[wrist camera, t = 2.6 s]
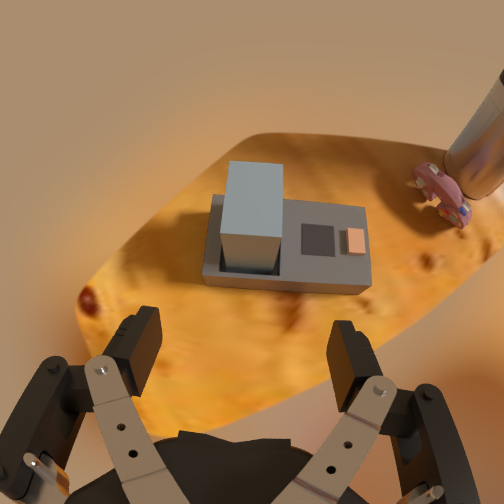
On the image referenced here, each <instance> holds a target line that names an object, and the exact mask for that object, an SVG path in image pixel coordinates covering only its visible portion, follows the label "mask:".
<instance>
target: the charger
mask: <svg viewBox="0 0 504 504" xmlns="http://www.w3.org/2000/svg"><path fill="white" fill-rule="evenodd" d="M282 215H283V164H273V163H260V162H245V161H230V162H229V169H228V176H227V183H226V190H225V198H224V205H223V213H222V221H221V229H220V236H221V241H222V247H223V252H224V257H225V262H226V267H227V272H229V273H242V274H256V275H272V271H273V268H274V264H275V260H276V257H277V253H278V250H279V246H280V242H281V239H282Z"/></svg>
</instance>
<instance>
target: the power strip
mask: <svg viewBox="0 0 504 504" xmlns="http://www.w3.org/2000/svg"><path fill="white" fill-rule="evenodd" d="M224 198H225V195H215V194H213V197H212V204H211V210H210V217H209V224H208V231H207V238H206V245H205V253H204V260H203V268H202V277H203V279H204V281H205V283H206V285H207V286H218V287H231V288H244V289H258V290H274V291H290V292H308V293H329V294H353V295H359V294H360V293H362V292H363V291H365V290H366V289H368V288H369V287H371V286H372V277H371V262H370V250H369V239H368V229H367V220H366V211H365V207H358V206H349V205H340V204H331V203H321V202H311V201H300V200H289V199H283V215H282V239H281V242H280V246H279V250H278V253H277V257H276V260H275V264H274V268H273V271H272V275H256V274H242V273H229V272H227V267H226V262H225V257H224V252H223V247H222V241H221V236H220V229H221V221H222V213H223V205H224Z"/></svg>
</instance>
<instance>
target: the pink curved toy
mask: <svg viewBox="0 0 504 504" xmlns="http://www.w3.org/2000/svg"><path fill="white" fill-rule="evenodd" d="M413 176H414V178H415V180H416V184H417V186H418V187H420V191H421V193H422V194H423V196H424V197H425V198H426V199H427V200H429V201H432V200H433V199H434V198H435V197H436V196H438V197H439V199H440V200H441V202H440V203H439V204H438V205H437V207H436V209H437V211H438V213H439V215H440V216H441V217H442V218H444V219H445V220H448V221H450V222H451V223H452V224H454V225H455V226H456V227H457V228H459V229H463V228H464V227H465V226H466V225H468V223H469V221H470V219H471V216H472V209H471V206H470V204H469V203H468V202H467V201H466V199H465V198H464V196H463V194H462V192H461V190H460V188H459V186H458V185H457V183H456V182H455V181H454V180H453V179H452V178H451V177H449V176H447V175H446V174H444V173H443V172H442V171H440V170H439V169H438V168H437V166H436V165H435V164H432V163H430V162H423V163H421V164H419V165H418V166H417V167H416V168H415V169H414V170H413Z"/></svg>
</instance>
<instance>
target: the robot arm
mask: <svg viewBox="0 0 504 504" xmlns="http://www.w3.org/2000/svg"><path fill="white" fill-rule="evenodd" d="M444 166H445V169H446V171H447V174H448V175H449V177H451V178H452V179H453V180H454V181H455V182H456V183H457V185H458V186H459V188H460V190H461V192H462V193H464V194H465V195H467V196H468V197H470V198H472V199H476V200H480V199H482V198H484V197H485V196H486V195H491V194H492V193H493V192H494V191H495V190H496V189H497V188H498V187H499V186H500V185H501V184H502V183H504V70H503V71H502V73H501V74H500V76H499V78H498V79H497V81H496V82H495V84H494V86H493V87H492V89H491V90H490V92H489V93H488V95H487V96H486V98H485V100H484V101H483V102H482V104H481V105H480V107H479V108H478V110H477V111H476V113H475V114H474V116H473V117H472V118H471V120H470V121H469V123H468V124H467V125H466V127H465V128H464V129H463V131H462V132H461V134H460V135H459V136H458V138H457V139H456V140H455V142H454V143H453V144H452V146H451V147H450V148H449V150H448V151H447V152H446V154H445V155H444ZM161 344H162V328H161V321H160V314H159V309H158V308H157V307H150V306H141V307H140V309H139V311H138V312H137V314H136V315H130V316H128V317H127V318H126V319H124V320H123V321H122V323H121V324H120V326H119V328H118V329H117V331H116V332H115V335H114V336H113V337H112V339H111V341H110V342H109V344H108V346H107V347H106V349H105V351H104V352H103V354H102V355H100V356H96V357H93V358H91V359H90V360H89V361H88V362H87V363H86V365H81V366H68V363H67V361H66V360H65V359H64V358H63V357H60V356H52V357H49V358H47V359H45V360H44V361H43V362H42V363H41V365H40V366H39V368H38V369H37V371H36V372H35V374H34V376H33V377H32V379H31V381H30V382H29V384H28V386H27V387H26V389H25V391H24V392H23V394H22V396H21V398H20V399H19V401H18V403H17V405H16V406H15V408H14V410H13V412H12V413H11V415H10V417H9V419H8V421H7V423H6V425H5V427H4V428H3V430H2V433H1V434H0V492H2V493H3V494H4V495H5V496H6V497H7V498H9V499H10V500H12V501H13V502H15V503H16V504H369V503H367V502H366V501H365V500H364V499H363V498H362V497H360V496H359V495H358V494H357V493H356V492H355V491H353V490H352V489H351V488H350V487H349V486H348V485H349V483H350V482H351V480H352V479H353V477H354V476H355V474H356V472H357V471H358V469H359V468H360V466H361V464H362V463H363V461H364V459H365V457H366V456H367V454H368V452H369V450H370V449H371V447H372V445H373V443H374V441H375V440H376V438H377V436H378V434H382V435H389V436H390V438H391V442H392V446H393V451H394V455H395V461H396V466H397V471H398V476H399V481H400V486H401V492H402V498H401V499H400V500H399V501H398V502H397V503H396V504H480V500H479V496H478V492H477V488H476V485H475V482H474V479H473V475H472V472H471V468H470V465H469V462H468V459H467V456H466V453H465V450H464V448H463V445H462V442H461V439H460V437H459V434H458V431H457V429H456V426H455V424H454V421H453V418H452V416H451V413H450V411H449V409H448V406H447V404H446V402H445V399H444V397H443V395H442V393H441V391H440V390H439V389H438V388H437V387H436V386H433V385H431V384H421V385H419V386H418V387H417V388H416V389H415V391H408V390H401V389H398V388H396V386H395V384H394V383H393V381H392V380H390V379H389V378H386V377H384V376H383V374H382V371H381V369H380V366H379V364H378V361H377V359H376V356H375V354H374V352H373V349H372V348H371V344H370V342H369V340H368V338H367V337H366V336H365V335H364V334H363V333H362V332H361V331H355V329H354V326H353V324H352V321H346V320H335V321H334V323H333V326H332V330H331V334H330V338H329V341H328V345H327V352H326V355H327V361H328V365H329V370H330V374H331V379H332V383H333V388H334V391H335V397H336V401H337V406H338V410H339V412H345V413H344V415H343V416H342V418H341V419H340V421H339V422H338V423H337V425H336V426H335V428H334V429H333V430H332V432H331V433H330V435H329V436H328V438H327V439H326V440H325V441H324V443H323V444H322V445H321V447H320V448H319V449H318V451H317V452H316V453H315V455H312V454H311V453H309V452H307V451H305V450H302V449H300V448H297V447H293V446H291V442H290V439H257V440H251V441H244V442H237V443H233V442H229V441H226V440H223V439H219V438H216V437H213V436H210V435H207V434H202V433H195V432H188V431H181V430H179V433H178V437H173V438H167V439H163V440H160V441H158V442H155V443H152V441H151V439H150V437H149V435H148V433H147V431H146V429H145V427H144V425H143V423H142V421H141V419H140V417H139V415H138V413H137V410H136V408H135V406H134V404H133V402H132V400H131V397H132V395H133V396H137V397H141V395H142V392H143V389H144V387H145V384H146V382H147V379H148V377H149V374H150V372H151V369H152V367H153V364H154V362H155V359H156V357H157V354H158V352H159V349H160V347H161ZM86 412H94V413H95V416H96V419H97V422H98V425H99V428H100V431H101V434H102V437H103V439H104V442H105V444H106V447H107V450H108V452H109V455H110V457H111V460H112V462H113V464H114V467H115V468H114V469H112V470H110V471H109V472H107V473H106V474H104V475H102V476H101V477H99V478H97V479H95V480H94V481H92V482H90V483H89V484H87V485H85V486H83V487H82V488H80V489H78V490H76V491H74V492H73V493H72V494H69V478H68V476H67V474H66V473H65V472H64V470H65V467H66V464H67V461H68V458H69V455H70V453H71V450H72V447H73V445H74V442H75V439H76V437H77V434H78V432H79V429H80V427H81V424H82V421H83V419H84V417H85V414H86Z"/></svg>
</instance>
